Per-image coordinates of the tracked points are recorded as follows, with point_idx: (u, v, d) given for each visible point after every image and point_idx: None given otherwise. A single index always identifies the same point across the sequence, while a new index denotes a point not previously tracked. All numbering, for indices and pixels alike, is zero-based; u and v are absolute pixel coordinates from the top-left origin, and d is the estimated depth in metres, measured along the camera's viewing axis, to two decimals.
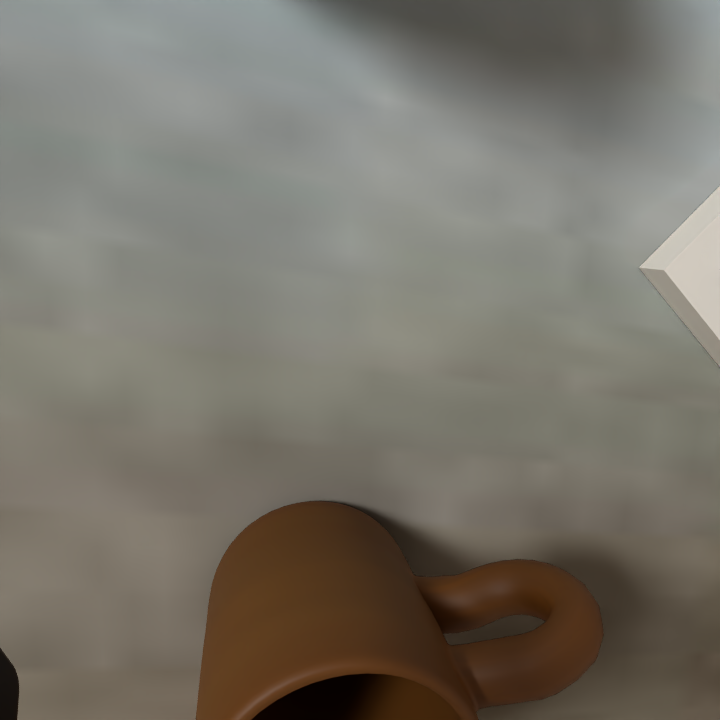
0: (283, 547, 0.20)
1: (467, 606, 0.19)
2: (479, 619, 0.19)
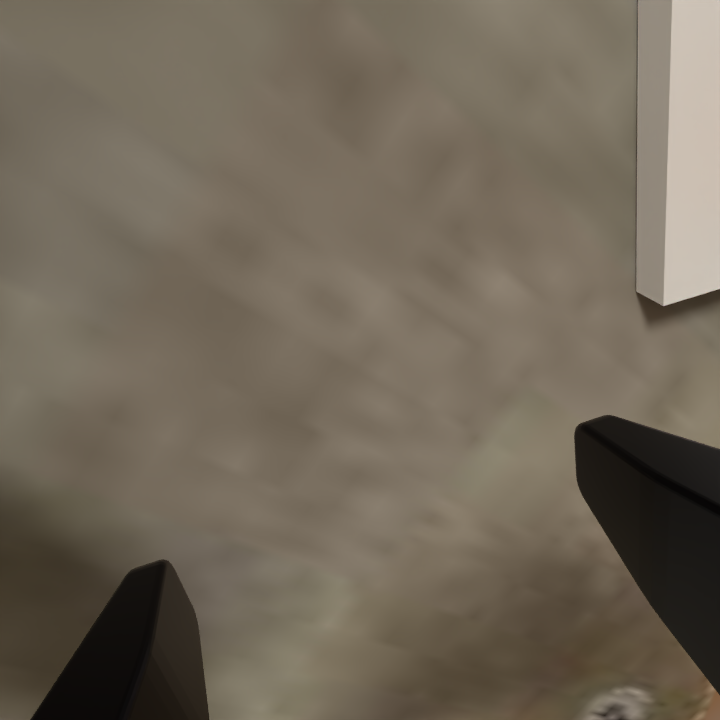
0: None
1: None
2: None
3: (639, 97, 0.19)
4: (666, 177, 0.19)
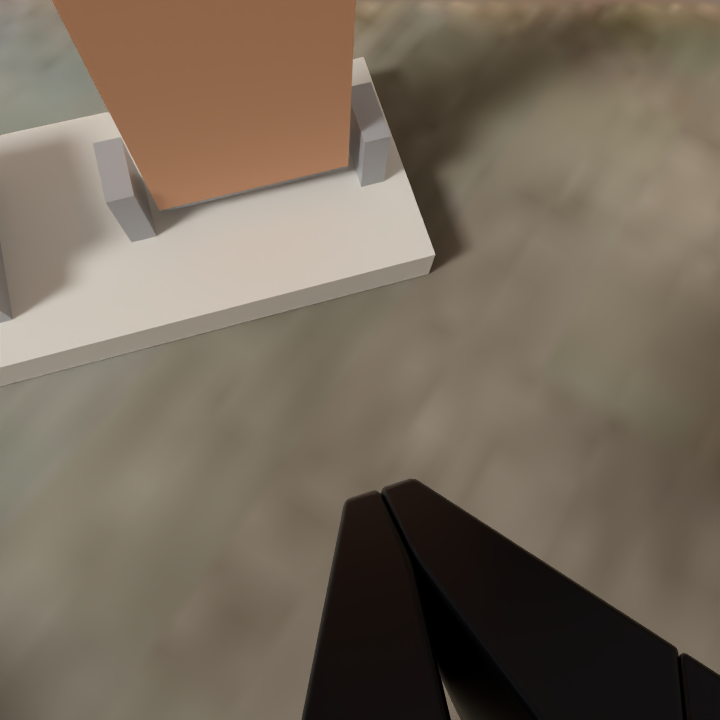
0: None
1: None
2: None
3: (240, 322, 0.21)
4: (303, 289, 0.20)
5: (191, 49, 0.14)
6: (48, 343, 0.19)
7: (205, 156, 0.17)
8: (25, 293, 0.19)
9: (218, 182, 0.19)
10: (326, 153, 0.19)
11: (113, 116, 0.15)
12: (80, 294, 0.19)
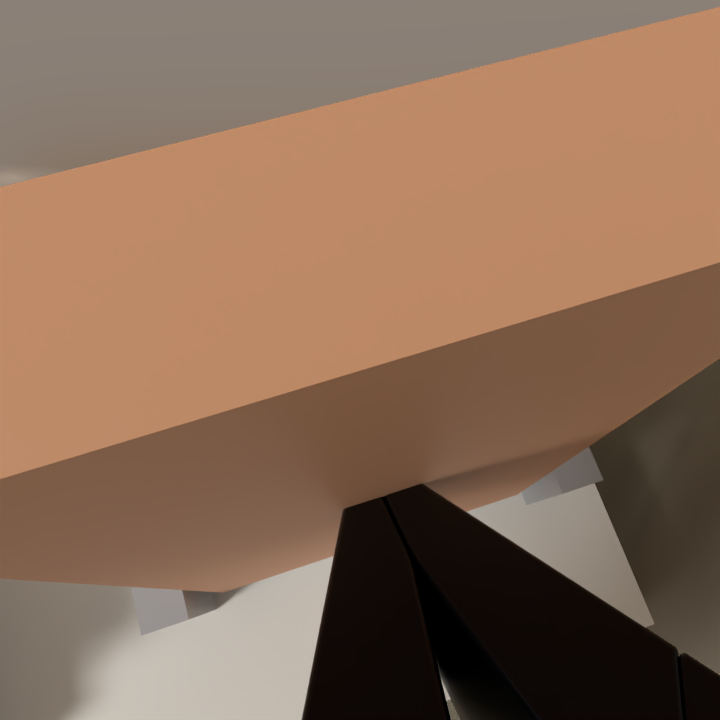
0: None
1: None
2: None
3: None
4: None
5: (319, 516, 0.07)
6: None
7: (308, 554, 0.10)
8: None
9: (320, 557, 0.11)
10: (494, 498, 0.12)
11: (156, 586, 0.08)
12: None
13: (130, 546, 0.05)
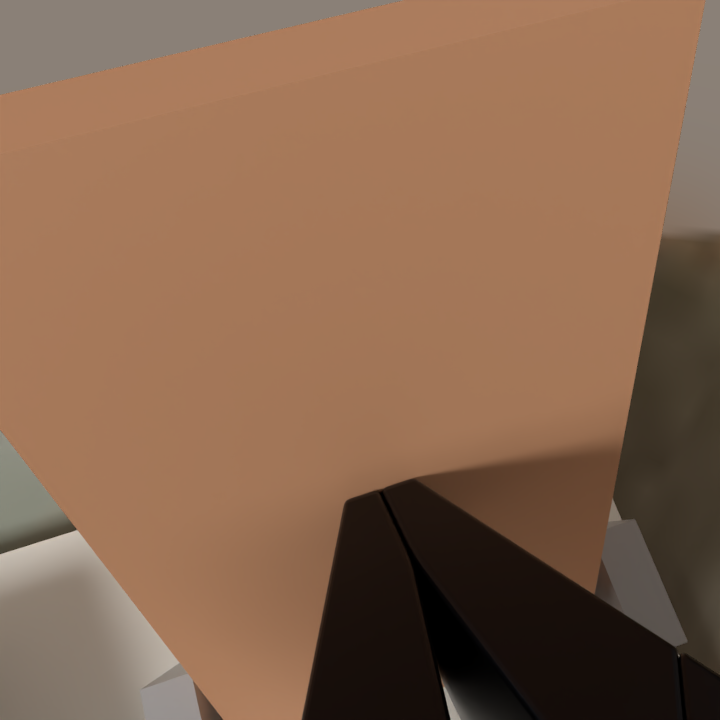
0: None
1: None
2: None
3: None
4: None
5: (314, 497, 0.07)
6: None
7: None
8: None
9: None
10: None
11: (160, 631, 0.07)
12: None
13: (117, 430, 0.05)
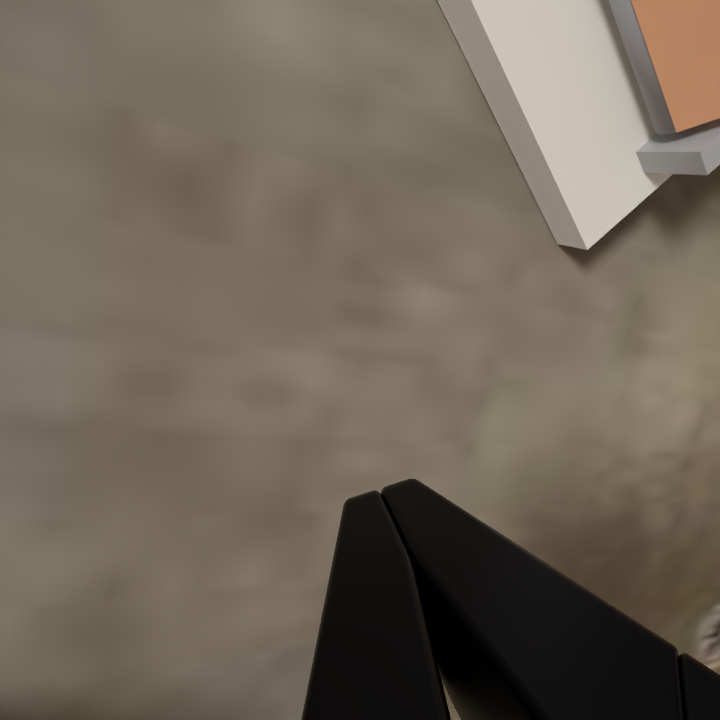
0: None
1: None
2: None
3: (473, 68, 0.19)
4: (532, 133, 0.19)
5: None
6: None
7: None
8: None
9: None
10: (702, 100, 0.18)
11: None
12: None
13: None
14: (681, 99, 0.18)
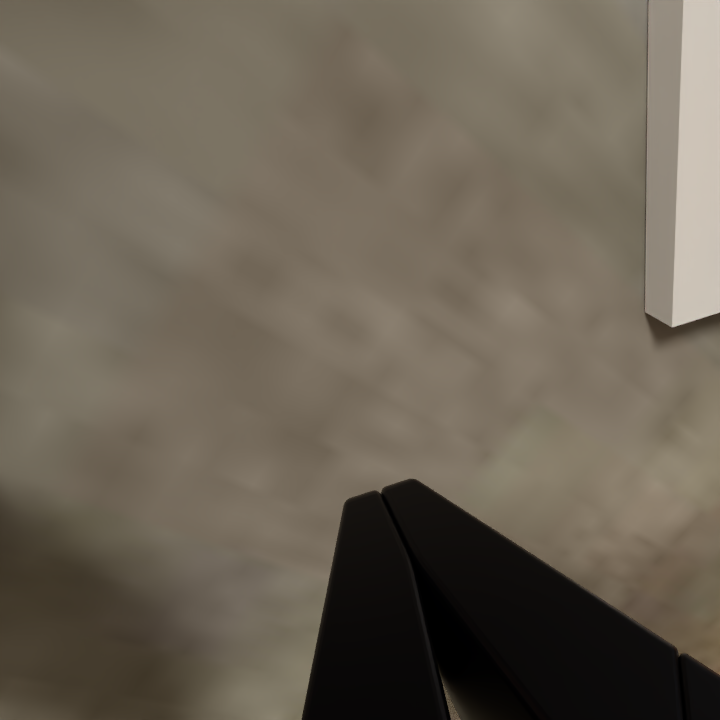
0: None
1: None
2: None
3: (648, 126, 0.20)
4: (675, 204, 0.20)
5: None
6: None
7: None
8: None
9: None
10: None
11: None
12: None
13: None
14: None
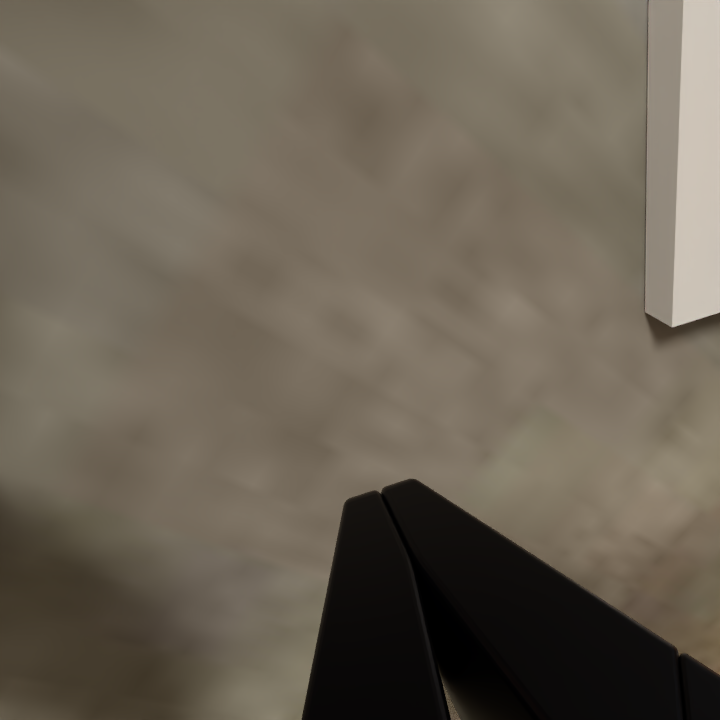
0: None
1: None
2: None
3: (648, 126, 0.20)
4: (675, 204, 0.20)
5: None
6: None
7: None
8: None
9: None
10: None
11: None
12: None
13: None
14: None
